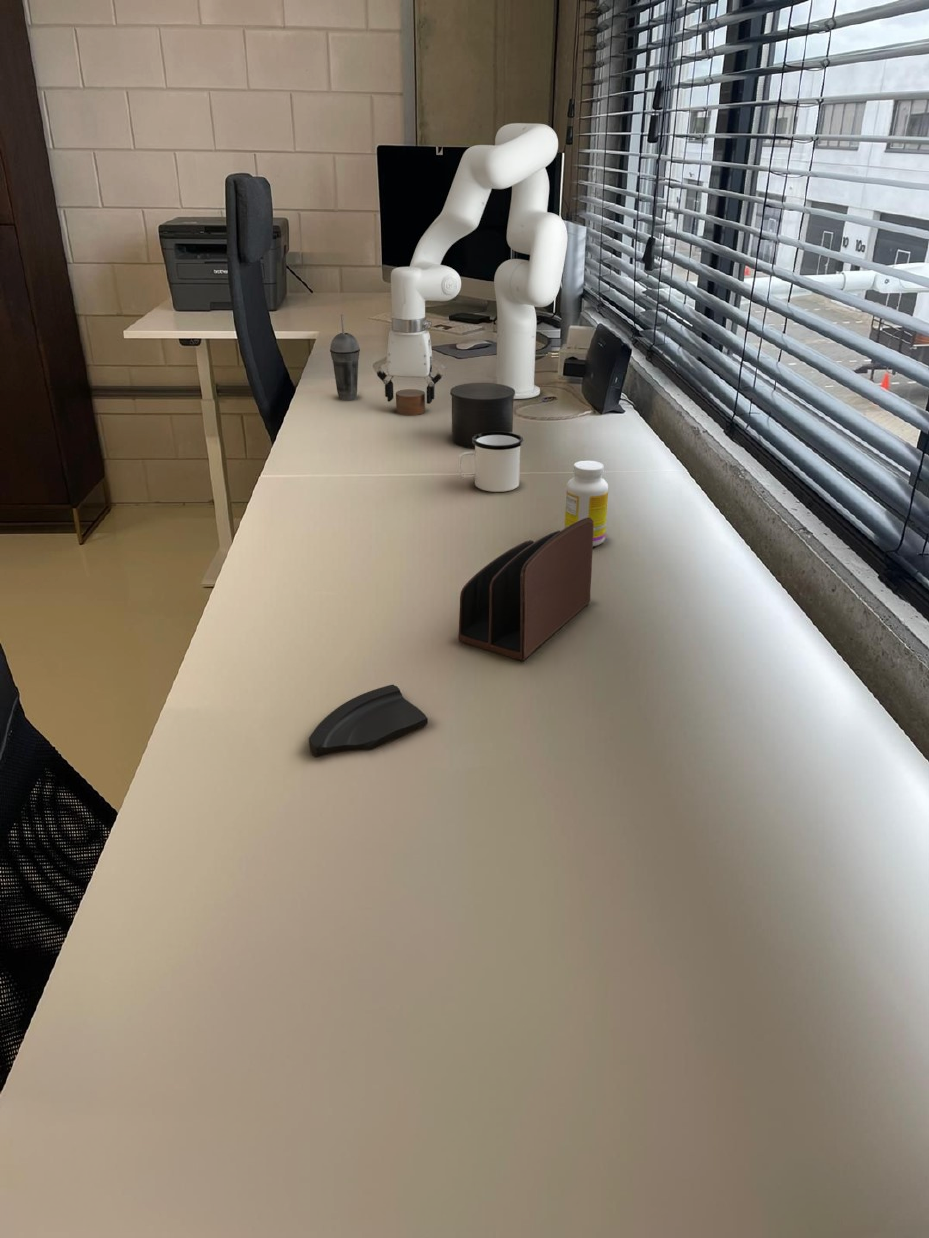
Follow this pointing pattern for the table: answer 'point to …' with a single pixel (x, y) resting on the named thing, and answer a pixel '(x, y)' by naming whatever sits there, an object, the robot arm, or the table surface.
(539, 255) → the robot arm
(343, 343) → the beverage cup
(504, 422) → the pot
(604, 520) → the supplement bottle
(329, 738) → the fan shaped piece
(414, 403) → the short brown cylinder
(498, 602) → the letter holder
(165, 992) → the table surface
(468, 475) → the mug
